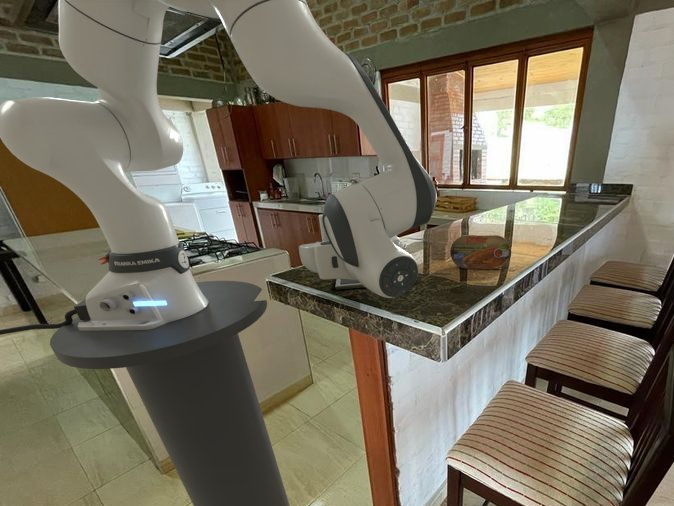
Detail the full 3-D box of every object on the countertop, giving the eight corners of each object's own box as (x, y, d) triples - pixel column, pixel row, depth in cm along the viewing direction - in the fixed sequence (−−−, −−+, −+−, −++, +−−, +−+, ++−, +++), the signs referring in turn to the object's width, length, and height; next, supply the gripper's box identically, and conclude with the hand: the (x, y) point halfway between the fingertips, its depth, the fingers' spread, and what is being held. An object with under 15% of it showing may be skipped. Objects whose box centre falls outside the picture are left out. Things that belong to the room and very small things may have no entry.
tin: (449, 267, 86) (450, 235, 83) (451, 264, 89) (452, 232, 86) (509, 270, 83) (512, 236, 79) (509, 266, 86) (512, 234, 82)
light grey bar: (326, 271, 87) (318, 216, 81) (327, 268, 89) (318, 214, 83) (335, 270, 87) (327, 215, 81) (335, 268, 89) (328, 214, 83)
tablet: (335, 290, 74) (335, 285, 74) (338, 271, 87) (338, 267, 86) (415, 283, 77) (415, 278, 76) (407, 265, 89) (407, 261, 89)
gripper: (410, 231, 67) (382, 222, 78) (306, 247, 58) (291, 233, 69) (411, 262, 69) (384, 249, 80) (312, 281, 60) (296, 263, 71)
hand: (340, 242), depth 74 cm, fingers open, 8 cm apart
